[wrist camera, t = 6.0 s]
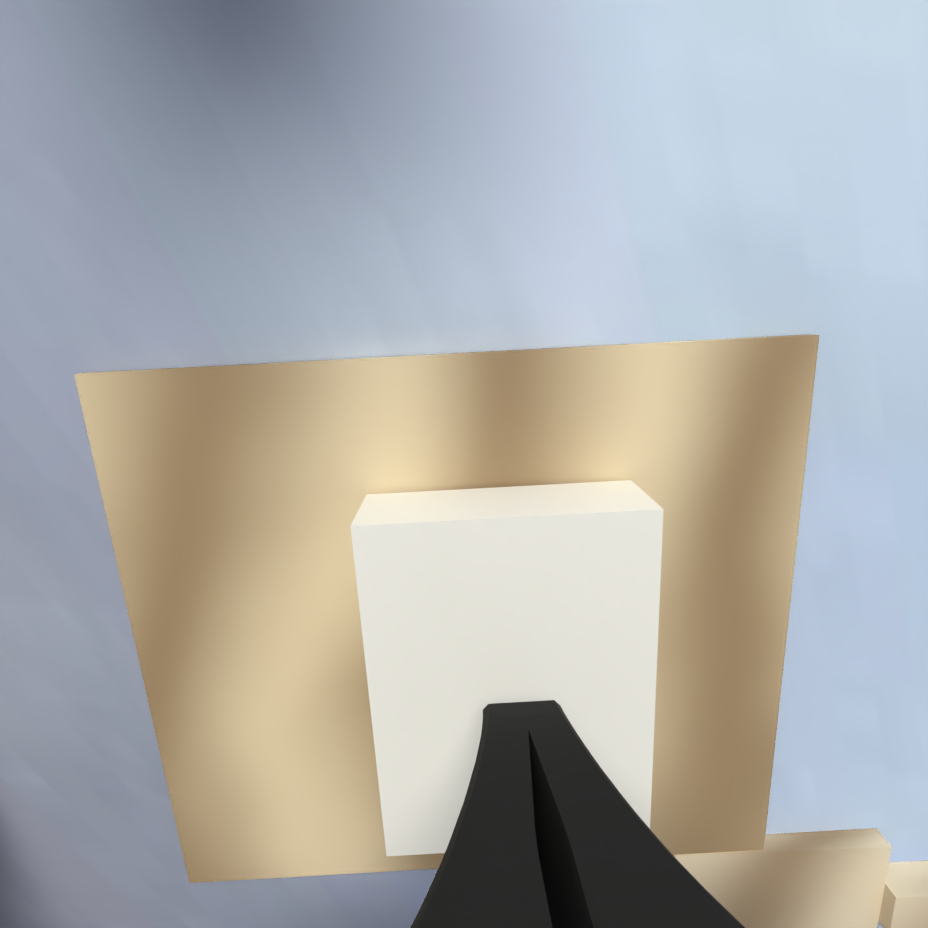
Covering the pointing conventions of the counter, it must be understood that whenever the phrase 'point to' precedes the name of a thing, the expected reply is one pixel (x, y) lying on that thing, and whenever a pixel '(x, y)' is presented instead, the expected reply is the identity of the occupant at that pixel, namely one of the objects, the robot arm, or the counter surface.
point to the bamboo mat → (432, 469)
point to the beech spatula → (816, 882)
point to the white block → (504, 634)
